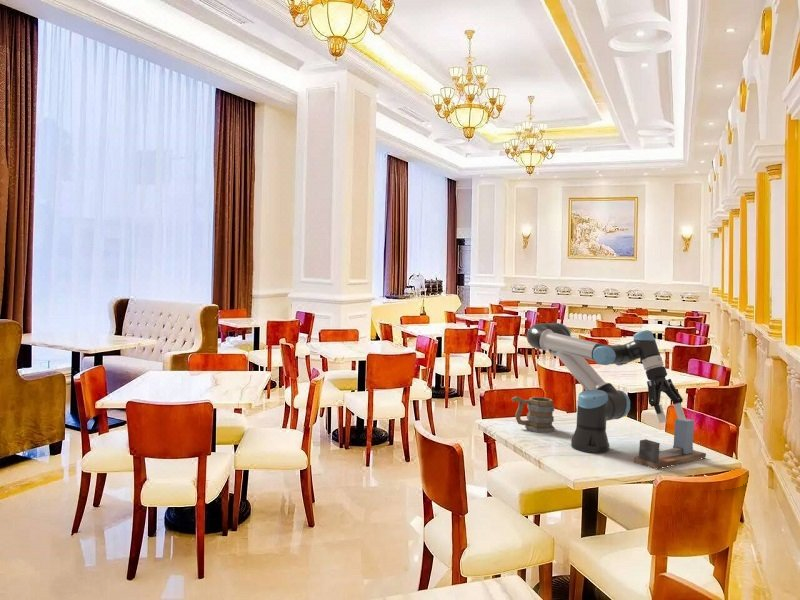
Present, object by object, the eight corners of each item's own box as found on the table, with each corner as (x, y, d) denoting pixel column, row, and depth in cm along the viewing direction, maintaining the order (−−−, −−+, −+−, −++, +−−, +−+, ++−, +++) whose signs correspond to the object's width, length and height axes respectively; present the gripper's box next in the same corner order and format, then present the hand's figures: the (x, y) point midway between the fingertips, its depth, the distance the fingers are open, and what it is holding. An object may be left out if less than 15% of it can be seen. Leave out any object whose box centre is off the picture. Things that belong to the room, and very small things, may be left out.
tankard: (550, 426, 289) (551, 394, 288) (556, 433, 276) (558, 400, 275) (507, 424, 289) (509, 393, 289) (512, 431, 277) (513, 398, 276)
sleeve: (672, 450, 246) (674, 418, 246) (680, 449, 249) (682, 417, 248) (685, 454, 242) (687, 421, 241) (692, 452, 245) (694, 420, 244)
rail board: (634, 462, 236) (635, 439, 236) (682, 451, 254) (683, 430, 254) (657, 469, 228) (658, 445, 228) (705, 458, 246) (707, 436, 245)
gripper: (644, 365, 235) (663, 420, 228) (679, 365, 250) (698, 416, 243) (628, 371, 241) (646, 425, 233) (663, 370, 255) (681, 421, 248)
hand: (673, 421), depth 238 cm, fingers open, 13 cm apart
